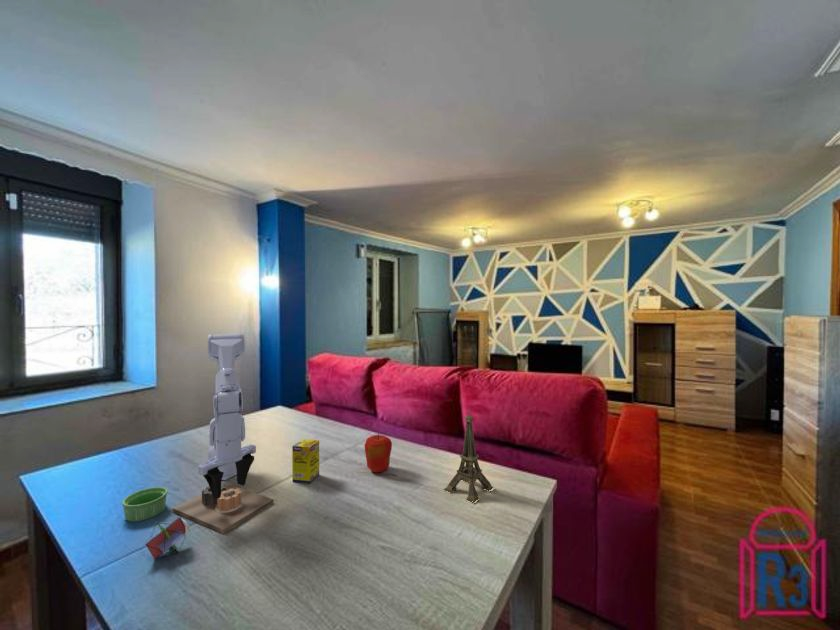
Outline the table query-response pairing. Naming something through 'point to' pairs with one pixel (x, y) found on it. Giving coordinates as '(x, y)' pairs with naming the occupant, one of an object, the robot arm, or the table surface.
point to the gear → (229, 500)
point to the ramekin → (145, 503)
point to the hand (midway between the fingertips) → (229, 490)
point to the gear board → (221, 521)
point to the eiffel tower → (469, 466)
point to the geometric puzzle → (168, 537)
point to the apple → (378, 453)
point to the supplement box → (305, 460)
